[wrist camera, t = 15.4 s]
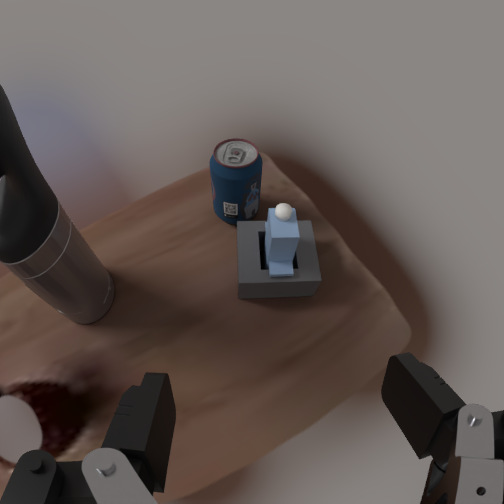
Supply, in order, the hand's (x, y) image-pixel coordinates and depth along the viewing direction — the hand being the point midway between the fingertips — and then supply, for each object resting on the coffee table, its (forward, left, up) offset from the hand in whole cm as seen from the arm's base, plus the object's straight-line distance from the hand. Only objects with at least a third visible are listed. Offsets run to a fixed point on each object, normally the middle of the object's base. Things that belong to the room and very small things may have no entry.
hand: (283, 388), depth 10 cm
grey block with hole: (+4, +19, -26) cm, 33 cm away
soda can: (-1, +29, -27) cm, 39 cm away
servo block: (+4, +19, -26) cm, 33 cm away
